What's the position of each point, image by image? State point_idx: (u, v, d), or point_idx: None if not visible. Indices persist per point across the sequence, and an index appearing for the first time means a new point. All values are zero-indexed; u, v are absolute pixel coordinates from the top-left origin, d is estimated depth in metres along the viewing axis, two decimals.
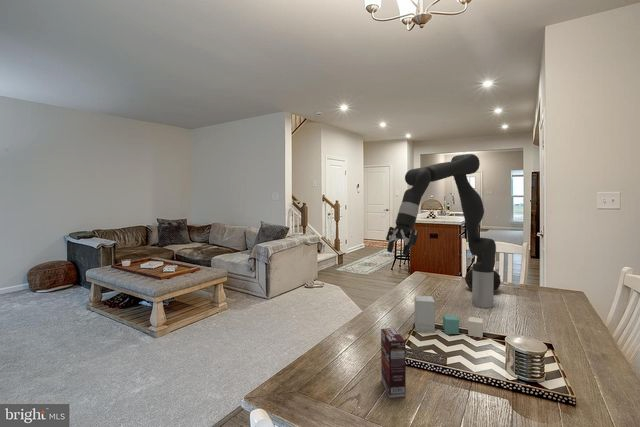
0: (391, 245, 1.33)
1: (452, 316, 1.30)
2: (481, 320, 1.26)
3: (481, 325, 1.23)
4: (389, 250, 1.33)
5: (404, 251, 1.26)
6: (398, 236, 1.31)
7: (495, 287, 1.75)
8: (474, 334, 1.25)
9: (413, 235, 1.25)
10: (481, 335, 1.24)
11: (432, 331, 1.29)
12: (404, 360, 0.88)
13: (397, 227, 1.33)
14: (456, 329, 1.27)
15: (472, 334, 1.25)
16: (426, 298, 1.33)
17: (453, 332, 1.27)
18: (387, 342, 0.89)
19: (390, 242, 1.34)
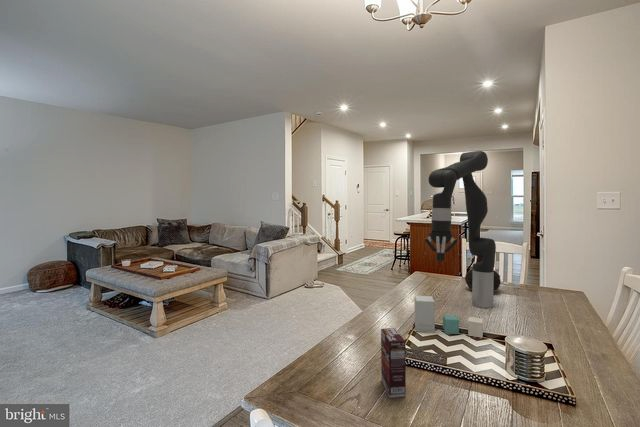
0: None
1: (452, 316, 1.30)
2: (481, 320, 1.26)
3: (481, 325, 1.23)
4: None
5: (442, 259, 1.32)
6: None
7: (495, 287, 1.75)
8: (474, 334, 1.25)
9: (453, 245, 1.30)
10: (481, 335, 1.24)
11: (432, 331, 1.29)
12: (404, 360, 0.88)
13: (433, 233, 1.33)
14: (456, 329, 1.27)
15: (472, 334, 1.25)
16: (426, 298, 1.33)
17: (453, 332, 1.27)
18: (387, 342, 0.89)
19: (439, 252, 1.32)
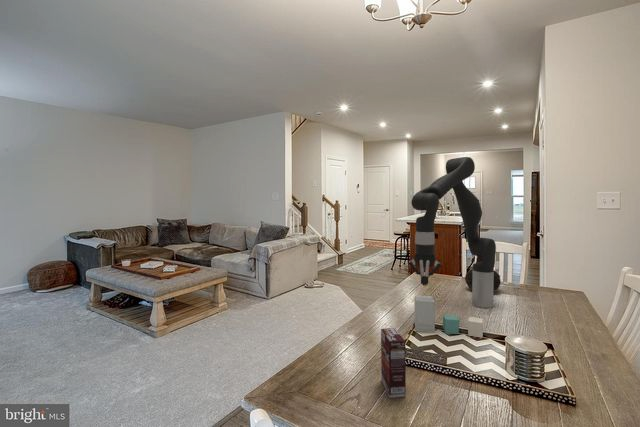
0: (424, 278, 1.32)
1: (452, 316, 1.30)
2: (481, 320, 1.26)
3: (481, 325, 1.23)
4: (424, 284, 1.32)
5: (426, 282, 1.31)
6: None
7: (495, 287, 1.75)
8: (474, 334, 1.25)
9: None
10: (481, 335, 1.24)
11: (432, 331, 1.29)
12: (404, 360, 0.88)
13: (416, 256, 1.32)
14: (456, 329, 1.27)
15: (472, 334, 1.25)
16: (426, 298, 1.33)
17: (453, 332, 1.27)
18: (387, 342, 0.89)
19: (423, 276, 1.32)
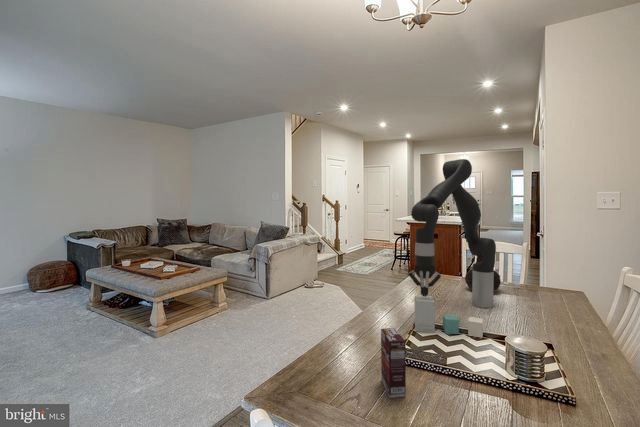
0: (424, 289, 1.32)
1: (452, 316, 1.30)
2: (481, 320, 1.26)
3: (481, 325, 1.23)
4: (424, 294, 1.32)
5: (426, 293, 1.31)
6: None
7: (495, 287, 1.75)
8: (474, 334, 1.25)
9: None
10: (481, 335, 1.24)
11: (432, 331, 1.29)
12: (404, 360, 0.88)
13: (416, 267, 1.32)
14: (456, 329, 1.27)
15: (472, 334, 1.25)
16: (426, 298, 1.33)
17: (453, 332, 1.27)
18: (387, 342, 0.89)
19: (423, 286, 1.32)
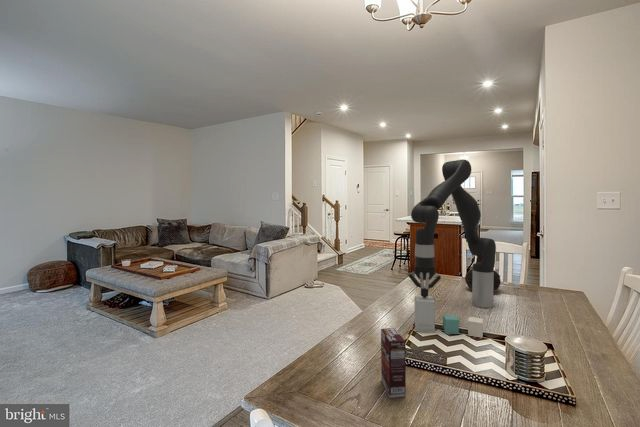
0: None
1: (452, 316, 1.30)
2: (481, 320, 1.26)
3: (481, 325, 1.23)
4: (424, 296, 1.32)
5: (426, 295, 1.31)
6: None
7: (495, 287, 1.75)
8: (474, 334, 1.25)
9: (437, 281, 1.30)
10: (481, 335, 1.24)
11: (432, 331, 1.29)
12: (404, 360, 0.88)
13: (416, 268, 1.32)
14: (456, 329, 1.27)
15: (472, 334, 1.25)
16: (426, 298, 1.33)
17: (453, 332, 1.27)
18: (387, 342, 0.89)
19: (423, 288, 1.32)
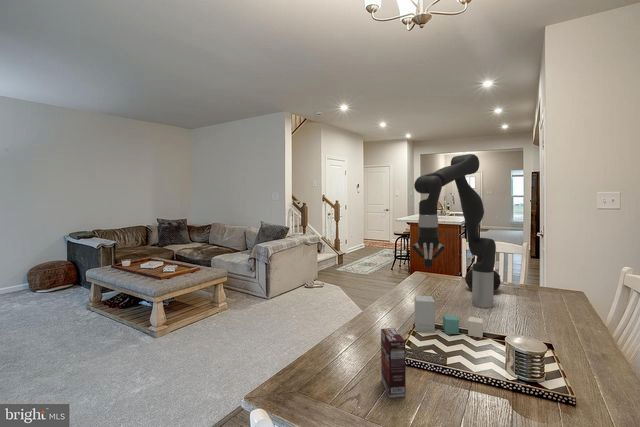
0: None
1: (452, 316, 1.30)
2: (481, 320, 1.26)
3: (481, 325, 1.23)
4: None
5: (430, 265, 1.31)
6: None
7: (495, 287, 1.75)
8: (474, 334, 1.25)
9: (441, 251, 1.30)
10: (481, 335, 1.24)
11: (432, 331, 1.29)
12: (404, 360, 0.88)
13: (420, 239, 1.32)
14: (456, 329, 1.27)
15: (472, 334, 1.25)
16: (426, 298, 1.33)
17: (453, 332, 1.27)
18: (387, 342, 0.89)
19: (427, 258, 1.32)
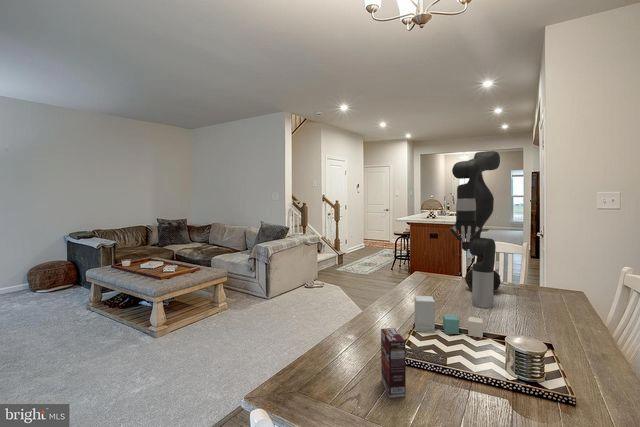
0: None
1: (452, 316, 1.30)
2: (481, 320, 1.26)
3: (481, 325, 1.23)
4: None
5: (467, 247, 1.36)
6: None
7: (495, 287, 1.75)
8: (474, 334, 1.25)
9: (478, 234, 1.35)
10: (481, 335, 1.24)
11: (432, 331, 1.29)
12: (404, 360, 0.88)
13: (458, 222, 1.37)
14: (456, 329, 1.27)
15: (472, 334, 1.25)
16: (426, 298, 1.33)
17: (453, 332, 1.27)
18: (387, 342, 0.89)
19: None
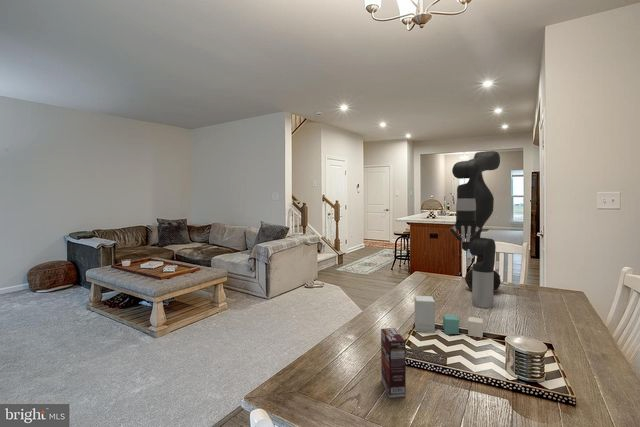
0: None
1: (452, 316, 1.30)
2: (481, 320, 1.26)
3: (481, 325, 1.23)
4: None
5: (467, 247, 1.36)
6: None
7: (495, 287, 1.75)
8: (474, 334, 1.25)
9: (478, 234, 1.35)
10: (481, 335, 1.24)
11: (432, 331, 1.29)
12: (404, 360, 0.88)
13: (458, 222, 1.37)
14: (456, 329, 1.27)
15: (472, 334, 1.25)
16: (426, 298, 1.33)
17: (453, 332, 1.27)
18: (387, 342, 0.89)
19: None
